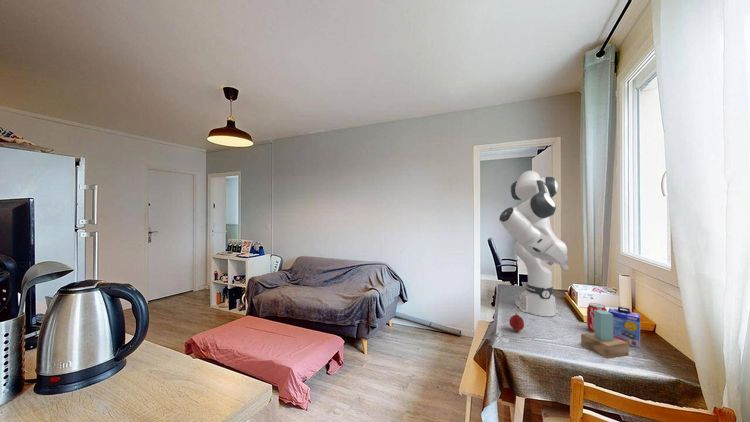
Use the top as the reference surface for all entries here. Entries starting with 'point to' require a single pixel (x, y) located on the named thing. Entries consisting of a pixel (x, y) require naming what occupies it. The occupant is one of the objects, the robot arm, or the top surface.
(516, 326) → the onion
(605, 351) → the walnut block
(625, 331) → the ink cartridge box
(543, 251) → the robot arm
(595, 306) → the soda can
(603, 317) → the teal block
